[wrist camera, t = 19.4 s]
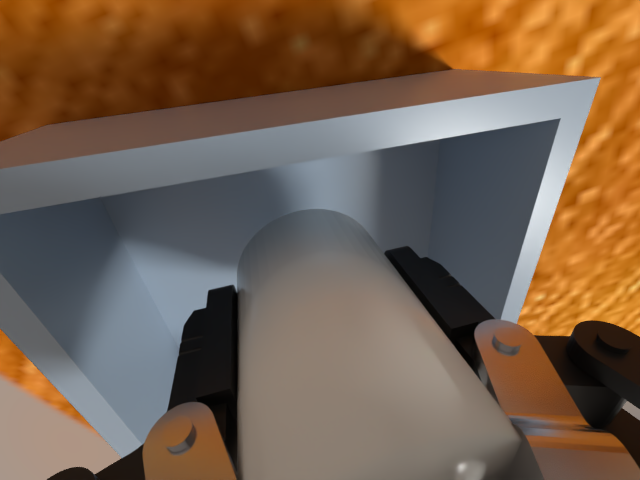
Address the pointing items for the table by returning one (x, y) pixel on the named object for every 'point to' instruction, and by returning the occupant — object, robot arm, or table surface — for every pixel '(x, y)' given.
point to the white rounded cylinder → (351, 367)
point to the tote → (263, 211)
